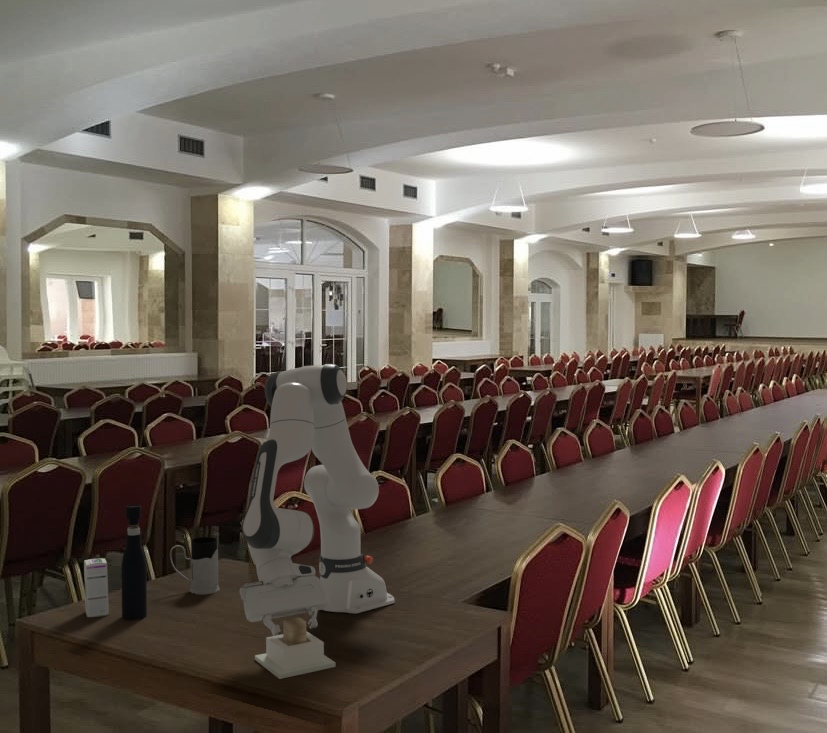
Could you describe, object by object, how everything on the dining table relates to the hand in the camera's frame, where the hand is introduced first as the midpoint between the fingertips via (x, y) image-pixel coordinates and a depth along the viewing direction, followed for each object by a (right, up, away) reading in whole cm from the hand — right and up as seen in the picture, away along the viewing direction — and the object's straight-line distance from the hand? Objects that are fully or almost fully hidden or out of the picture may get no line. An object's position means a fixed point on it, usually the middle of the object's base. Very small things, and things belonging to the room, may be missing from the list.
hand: (295, 630), depth 215 cm
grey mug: (-37, -5, +59) cm, 70 cm away
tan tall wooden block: (0, -7, +1) cm, 7 cm away
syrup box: (-59, -6, +37) cm, 70 cm away
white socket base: (0, -8, +1) cm, 8 cm away
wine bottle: (-48, -6, +35) cm, 59 cm away
